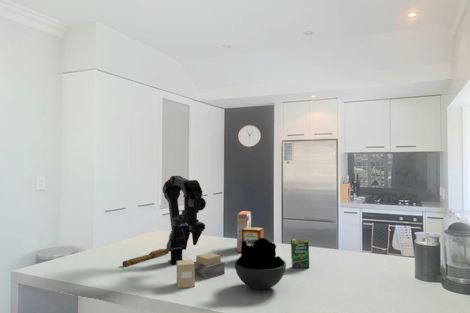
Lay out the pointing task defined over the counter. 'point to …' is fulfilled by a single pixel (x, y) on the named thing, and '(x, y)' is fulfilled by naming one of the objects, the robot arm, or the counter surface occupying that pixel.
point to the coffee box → (300, 253)
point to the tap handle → (145, 257)
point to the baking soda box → (252, 235)
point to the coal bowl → (260, 265)
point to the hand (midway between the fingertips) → (190, 243)
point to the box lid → (208, 259)
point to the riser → (209, 270)
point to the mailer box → (185, 274)
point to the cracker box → (242, 226)
